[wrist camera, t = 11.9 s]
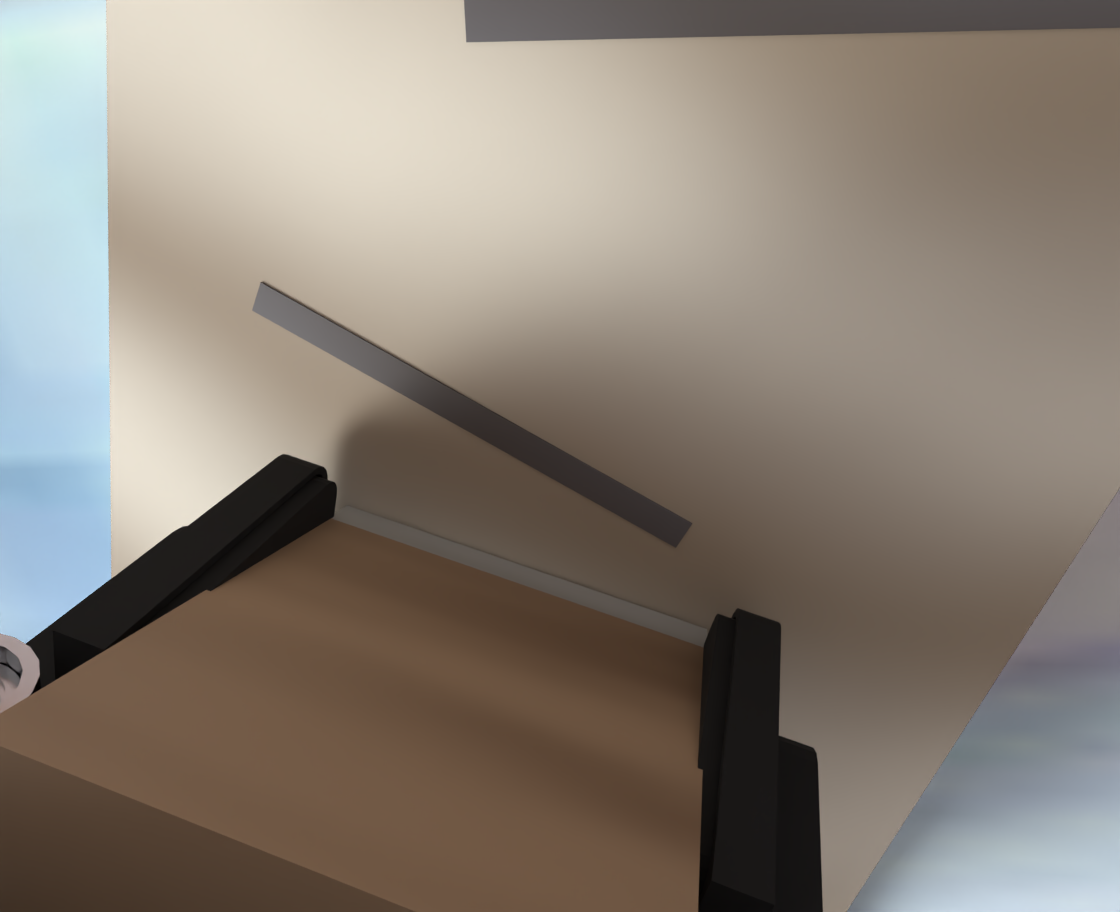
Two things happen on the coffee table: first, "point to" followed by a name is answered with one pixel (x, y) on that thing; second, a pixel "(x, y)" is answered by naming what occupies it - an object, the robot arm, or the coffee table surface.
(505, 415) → the beige flat slab
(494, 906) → the block
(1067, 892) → the coffee table surface
